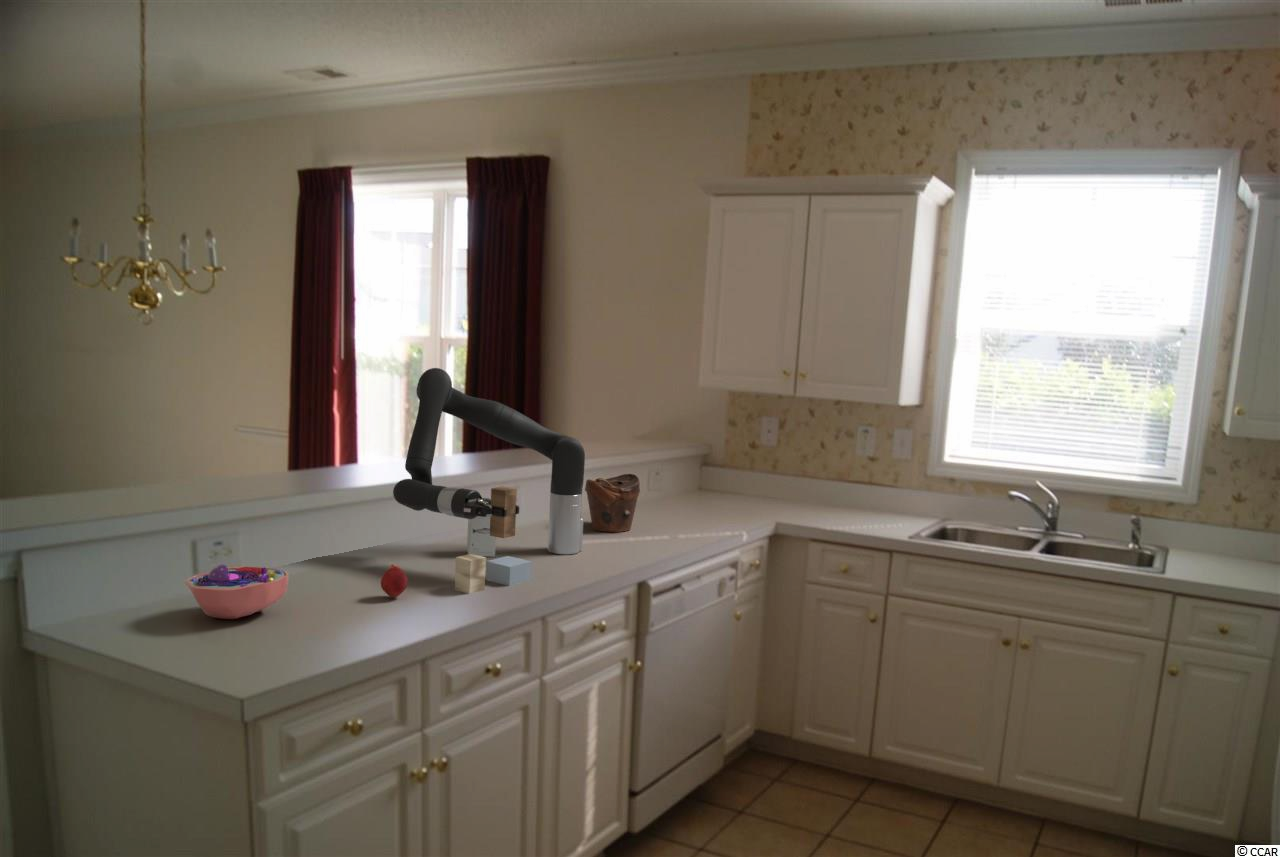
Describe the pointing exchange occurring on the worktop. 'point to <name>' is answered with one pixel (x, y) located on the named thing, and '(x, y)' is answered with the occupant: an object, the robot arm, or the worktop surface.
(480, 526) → the supplement box
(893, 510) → the worktop surface
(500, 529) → the walnut block
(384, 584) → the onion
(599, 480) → the brown wooden tapered pot
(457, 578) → the birch block
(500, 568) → the base block
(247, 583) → the cell model
